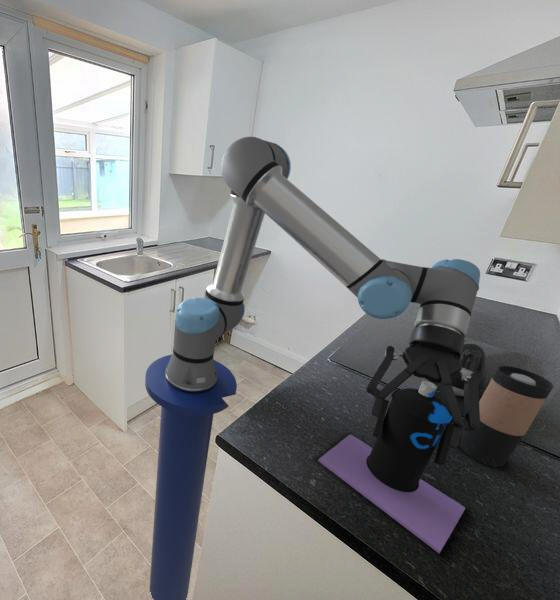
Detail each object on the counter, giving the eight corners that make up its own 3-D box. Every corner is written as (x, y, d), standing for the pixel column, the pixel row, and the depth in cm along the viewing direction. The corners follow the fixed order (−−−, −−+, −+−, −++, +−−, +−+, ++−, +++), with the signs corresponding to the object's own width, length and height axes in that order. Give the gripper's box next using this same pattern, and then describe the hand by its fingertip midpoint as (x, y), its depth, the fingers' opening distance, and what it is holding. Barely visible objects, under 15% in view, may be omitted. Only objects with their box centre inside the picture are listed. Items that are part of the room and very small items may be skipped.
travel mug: (452, 434, 73) (489, 361, 65) (495, 447, 70) (539, 372, 62) (465, 458, 66) (508, 380, 59) (513, 474, 63) (565, 393, 56)
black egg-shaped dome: (426, 389, 89) (447, 342, 84) (432, 375, 96) (451, 331, 90) (475, 407, 82) (500, 358, 77) (477, 392, 89) (501, 345, 83)
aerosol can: (356, 461, 60) (388, 374, 53) (384, 449, 63) (418, 366, 56) (399, 499, 53) (443, 405, 46) (429, 484, 56) (474, 394, 49)
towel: (318, 461, 64) (318, 458, 63) (349, 435, 71) (350, 433, 70) (439, 553, 48) (440, 551, 48) (464, 510, 55) (465, 507, 55)
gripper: (507, 360, 56) (481, 486, 50) (371, 324, 68) (337, 422, 62) (528, 345, 50) (502, 485, 44) (375, 308, 62) (338, 415, 56)
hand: (405, 448), depth 53 cm, fingers closed on aerosol can, 8 cm apart
